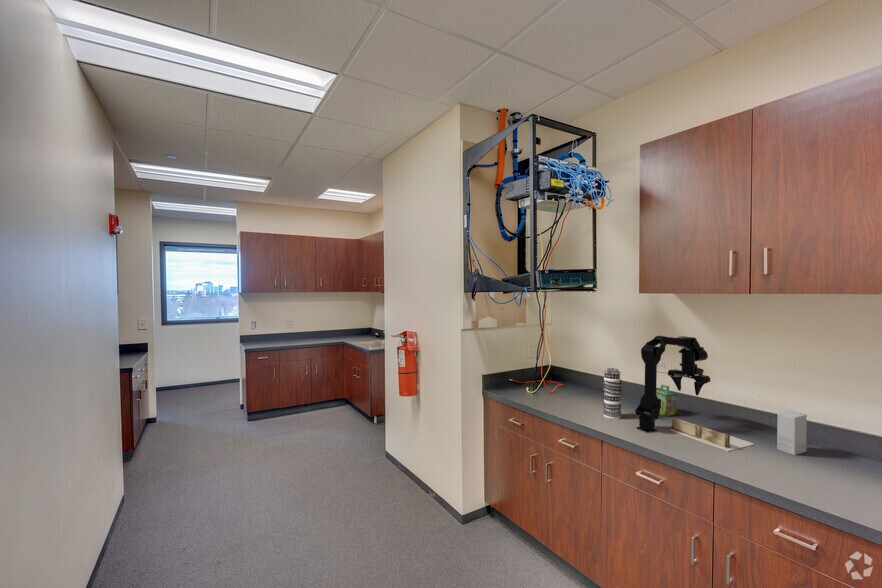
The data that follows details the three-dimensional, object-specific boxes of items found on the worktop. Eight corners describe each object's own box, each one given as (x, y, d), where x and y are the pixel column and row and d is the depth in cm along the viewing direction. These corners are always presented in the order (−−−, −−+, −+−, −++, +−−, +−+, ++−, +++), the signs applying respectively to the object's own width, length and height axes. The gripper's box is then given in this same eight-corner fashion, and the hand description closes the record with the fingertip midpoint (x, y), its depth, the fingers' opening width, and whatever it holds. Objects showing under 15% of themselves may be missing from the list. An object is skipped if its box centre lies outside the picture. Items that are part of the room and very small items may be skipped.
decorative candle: (625, 418, 202) (625, 370, 201) (609, 419, 200) (609, 371, 200) (615, 413, 211) (615, 366, 210) (599, 414, 209) (599, 367, 209)
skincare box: (788, 446, 165) (789, 409, 165) (808, 452, 159) (808, 414, 158) (776, 449, 162) (776, 412, 162) (795, 455, 156) (795, 417, 155)
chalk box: (650, 412, 212) (650, 384, 212) (661, 409, 216) (661, 382, 216) (666, 417, 204) (666, 388, 203) (677, 414, 207) (677, 386, 207)
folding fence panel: (701, 438, 173) (701, 427, 173) (703, 438, 174) (703, 427, 174) (728, 448, 163) (727, 436, 163) (730, 447, 163) (730, 436, 163)
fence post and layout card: (728, 451, 160) (728, 437, 160) (668, 429, 186) (668, 417, 185) (754, 444, 167) (754, 431, 167) (693, 424, 192) (693, 413, 192)
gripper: (718, 363, 190) (718, 396, 190) (682, 357, 207) (682, 387, 207) (702, 365, 186) (702, 398, 186) (666, 359, 203) (666, 389, 203)
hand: (688, 392), depth 196 cm, fingers open, 9 cm apart
